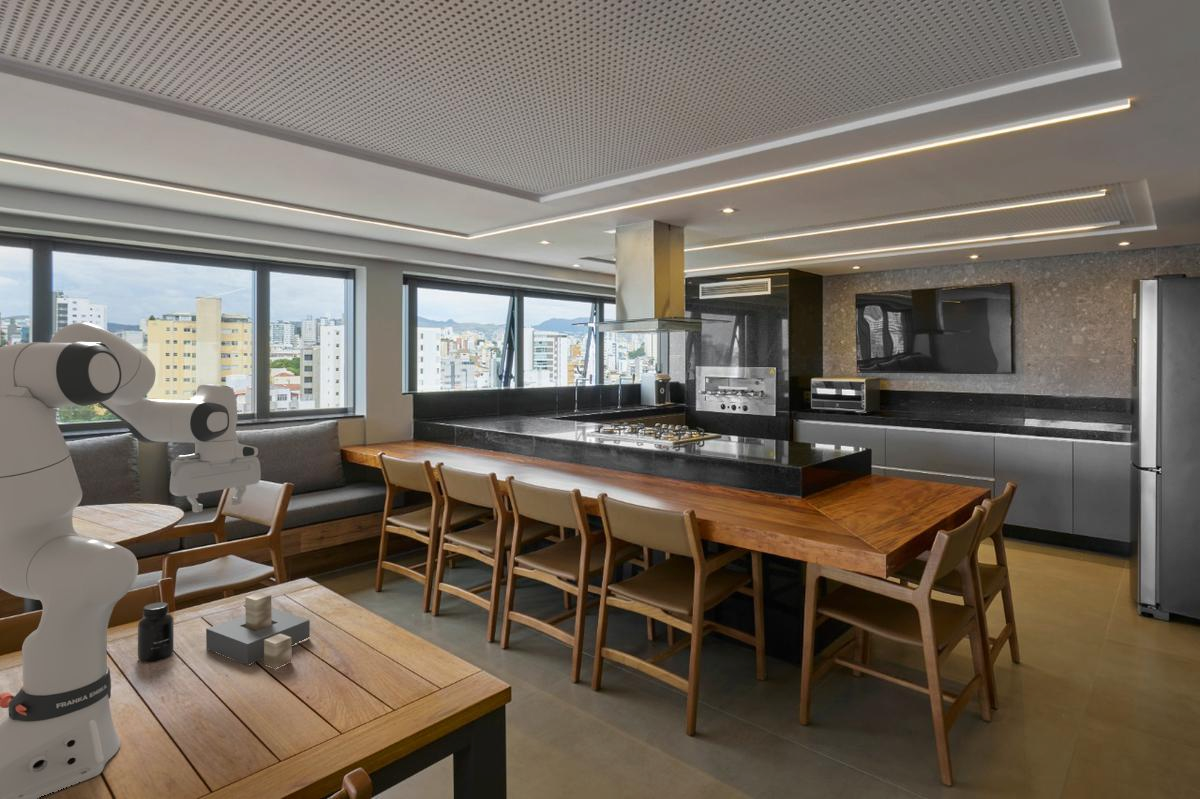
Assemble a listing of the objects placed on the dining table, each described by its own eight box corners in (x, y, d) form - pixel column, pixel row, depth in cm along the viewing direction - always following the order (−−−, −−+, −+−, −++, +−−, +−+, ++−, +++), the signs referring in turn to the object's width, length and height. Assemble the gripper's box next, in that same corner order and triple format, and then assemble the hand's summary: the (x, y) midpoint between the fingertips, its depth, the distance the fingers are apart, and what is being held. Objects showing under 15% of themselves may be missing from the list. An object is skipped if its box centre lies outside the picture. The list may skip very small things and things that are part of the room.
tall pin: (256, 649, 153) (255, 600, 152) (245, 645, 155) (245, 597, 154) (271, 643, 157) (271, 595, 156) (261, 639, 158) (261, 591, 158)
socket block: (247, 665, 145) (247, 644, 145) (206, 649, 153) (206, 628, 152) (309, 639, 159) (309, 619, 159) (269, 625, 167) (268, 606, 166)
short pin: (275, 670, 143) (275, 643, 143) (264, 665, 145) (264, 639, 145) (291, 662, 147) (291, 637, 147) (280, 658, 149) (280, 633, 148)
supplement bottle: (160, 663, 145) (159, 612, 144) (130, 662, 145) (129, 611, 144) (180, 650, 152) (179, 600, 151) (152, 649, 152) (151, 599, 151)
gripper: (178, 457, 144) (179, 518, 145) (264, 447, 162) (264, 502, 162) (163, 455, 147) (164, 514, 148) (248, 445, 165) (249, 499, 165)
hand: (217, 508), depth 155 cm, fingers open, 8 cm apart
